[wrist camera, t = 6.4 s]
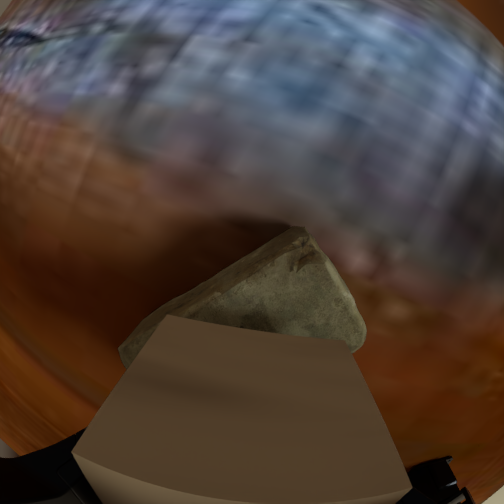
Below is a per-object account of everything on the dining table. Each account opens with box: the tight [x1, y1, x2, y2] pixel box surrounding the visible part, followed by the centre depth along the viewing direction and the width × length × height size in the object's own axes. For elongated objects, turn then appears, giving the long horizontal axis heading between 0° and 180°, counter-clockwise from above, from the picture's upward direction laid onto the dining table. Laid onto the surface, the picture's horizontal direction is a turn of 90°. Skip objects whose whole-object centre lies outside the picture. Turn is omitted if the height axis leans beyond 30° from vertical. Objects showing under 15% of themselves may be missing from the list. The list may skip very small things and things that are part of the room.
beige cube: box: [71, 314, 412, 504], centre depth 6 cm, size 6×6×6 cm
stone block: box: [118, 226, 367, 369], centre depth 13 cm, size 6×12×5 cm, turn 124°
